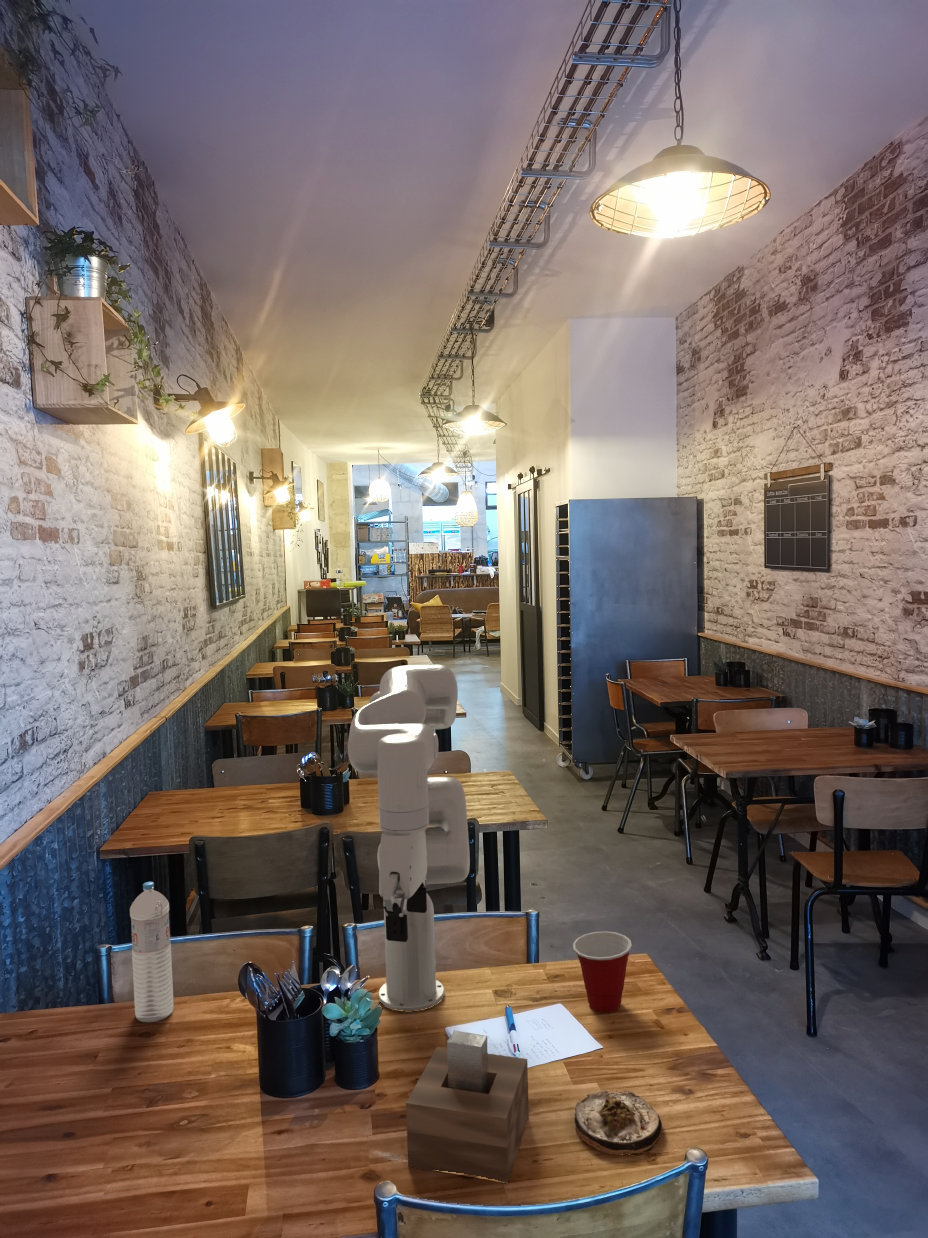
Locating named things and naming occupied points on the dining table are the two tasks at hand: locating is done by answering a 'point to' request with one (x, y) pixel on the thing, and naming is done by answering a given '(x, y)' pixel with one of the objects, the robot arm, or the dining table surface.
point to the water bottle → (151, 955)
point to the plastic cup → (603, 968)
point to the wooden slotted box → (468, 1119)
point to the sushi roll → (617, 1123)
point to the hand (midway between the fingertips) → (407, 925)
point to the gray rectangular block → (468, 1062)
